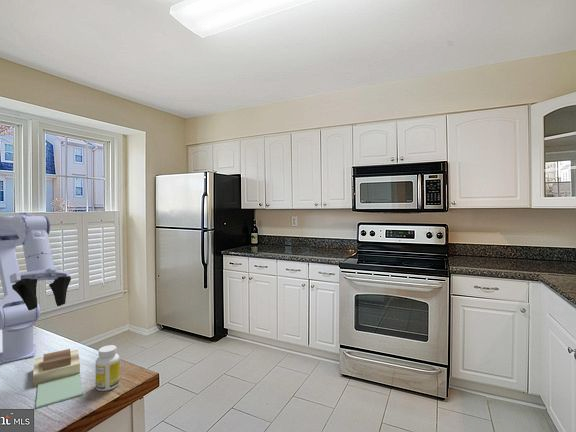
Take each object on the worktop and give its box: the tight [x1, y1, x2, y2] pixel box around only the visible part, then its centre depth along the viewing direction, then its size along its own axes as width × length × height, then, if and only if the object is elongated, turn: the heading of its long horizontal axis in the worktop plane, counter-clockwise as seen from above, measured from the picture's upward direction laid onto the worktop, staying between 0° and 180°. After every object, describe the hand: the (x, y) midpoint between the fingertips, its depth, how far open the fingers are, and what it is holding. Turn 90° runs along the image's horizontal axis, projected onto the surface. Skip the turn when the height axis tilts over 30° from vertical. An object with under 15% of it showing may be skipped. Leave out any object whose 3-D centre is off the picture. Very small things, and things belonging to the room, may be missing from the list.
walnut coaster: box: [43, 348, 71, 371], centre depth 86 cm, size 6×6×2 cm
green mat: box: [35, 373, 84, 409], centre depth 79 cm, size 11×9×1 cm
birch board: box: [32, 349, 81, 387], centre depth 87 cm, size 10×10×3 cm
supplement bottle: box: [95, 344, 121, 392], centre depth 81 cm, size 5×5×10 cm
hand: (47, 306), depth 82 cm, fingers open, 7 cm apart
